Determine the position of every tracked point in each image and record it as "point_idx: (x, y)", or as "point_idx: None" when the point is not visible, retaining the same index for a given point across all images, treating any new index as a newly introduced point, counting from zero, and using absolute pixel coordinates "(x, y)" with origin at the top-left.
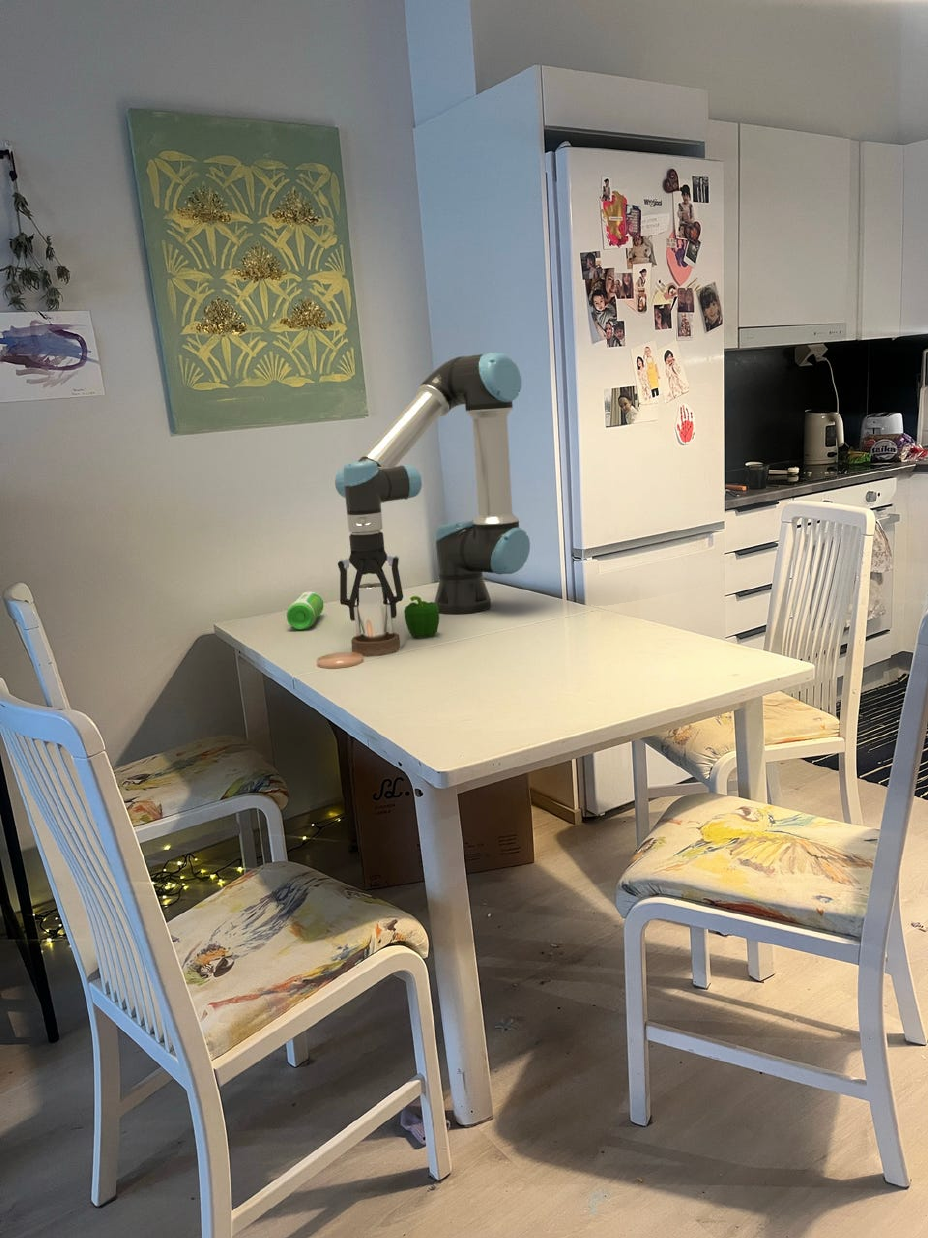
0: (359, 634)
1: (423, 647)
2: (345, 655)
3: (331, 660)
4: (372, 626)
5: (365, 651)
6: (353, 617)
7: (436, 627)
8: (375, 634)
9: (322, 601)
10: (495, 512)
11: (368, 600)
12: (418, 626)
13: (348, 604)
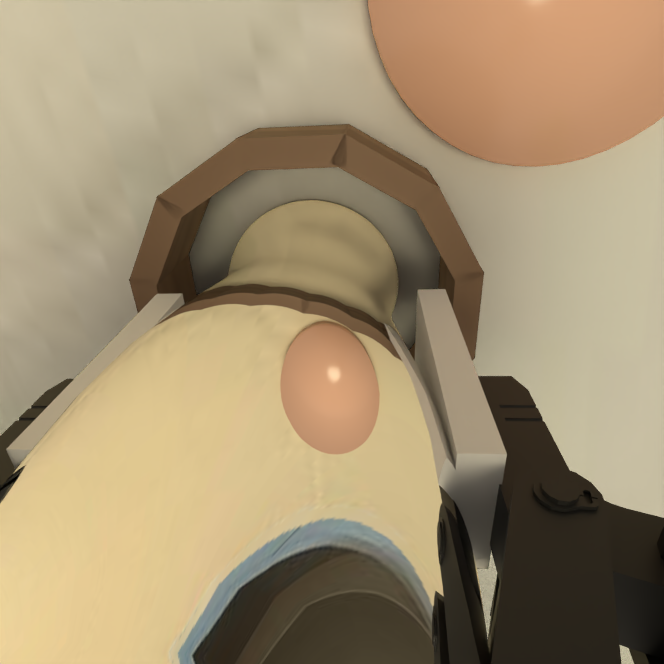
0: (419, 292)
1: (36, 285)
2: (516, 44)
3: None
4: (281, 265)
5: (361, 135)
6: (490, 395)
7: None
8: (276, 250)
9: None
10: None
11: (215, 416)
12: None
13: (602, 499)
